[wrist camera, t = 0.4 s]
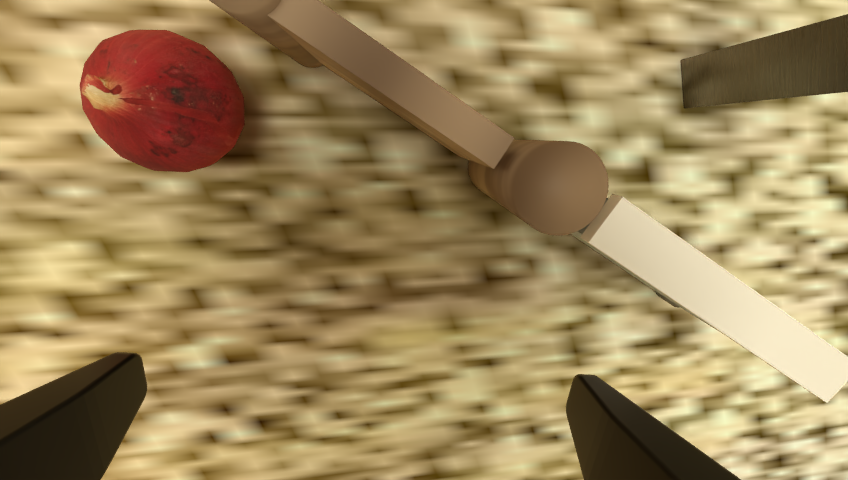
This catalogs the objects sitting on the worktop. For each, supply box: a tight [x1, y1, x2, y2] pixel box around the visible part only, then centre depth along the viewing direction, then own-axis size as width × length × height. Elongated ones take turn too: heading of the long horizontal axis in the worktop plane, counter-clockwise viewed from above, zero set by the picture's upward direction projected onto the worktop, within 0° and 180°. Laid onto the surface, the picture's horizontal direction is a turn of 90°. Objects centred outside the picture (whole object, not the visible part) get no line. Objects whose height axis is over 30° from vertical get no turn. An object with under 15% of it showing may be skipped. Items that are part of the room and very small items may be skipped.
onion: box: [80, 30, 245, 172], centre depth 18 cm, size 6×6×8 cm
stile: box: [681, 14, 848, 108], centre depth 17 cm, size 3×3×11 cm
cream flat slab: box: [571, 194, 848, 402], centre depth 19 cm, size 12×2×10 cm, turn 57°
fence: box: [210, 0, 608, 235], centre depth 17 cm, size 14×3×10 cm, turn 57°
